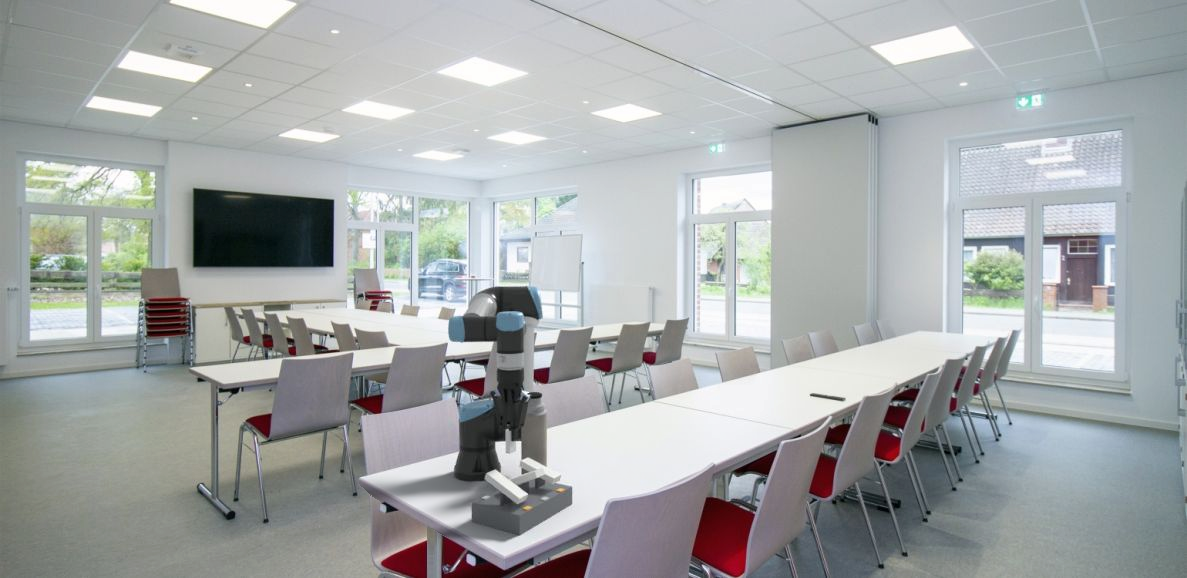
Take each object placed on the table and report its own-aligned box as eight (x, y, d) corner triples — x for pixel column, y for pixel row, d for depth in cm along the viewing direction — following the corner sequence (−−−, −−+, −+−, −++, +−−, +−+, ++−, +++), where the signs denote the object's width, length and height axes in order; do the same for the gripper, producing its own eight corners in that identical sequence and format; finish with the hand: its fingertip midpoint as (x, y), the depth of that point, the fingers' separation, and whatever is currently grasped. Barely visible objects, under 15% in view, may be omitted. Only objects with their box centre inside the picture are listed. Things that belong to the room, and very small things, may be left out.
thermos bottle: (522, 473, 195) (522, 389, 192) (547, 473, 196) (547, 389, 192) (520, 485, 187) (520, 397, 184) (546, 485, 188) (546, 397, 184)
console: (471, 521, 160) (471, 491, 160) (527, 493, 180) (527, 466, 180) (519, 535, 152) (519, 503, 151) (572, 504, 172) (572, 476, 172)
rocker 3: (519, 466, 174) (520, 460, 173) (526, 463, 177) (528, 457, 177) (552, 484, 168) (553, 478, 168) (559, 480, 171) (561, 474, 171)
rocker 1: (484, 478, 161) (486, 473, 160) (493, 475, 164) (495, 469, 163) (517, 504, 155) (519, 498, 155) (526, 499, 158) (528, 494, 158)
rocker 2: (504, 488, 167) (502, 482, 167) (513, 484, 170) (511, 478, 170) (537, 478, 161) (534, 471, 161) (545, 474, 164) (542, 467, 165)
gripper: (483, 367, 167) (483, 451, 168) (520, 371, 161) (521, 459, 162) (500, 363, 174) (501, 445, 175) (537, 367, 167) (537, 452, 168)
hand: (510, 452), depth 168 cm, fingers closed
